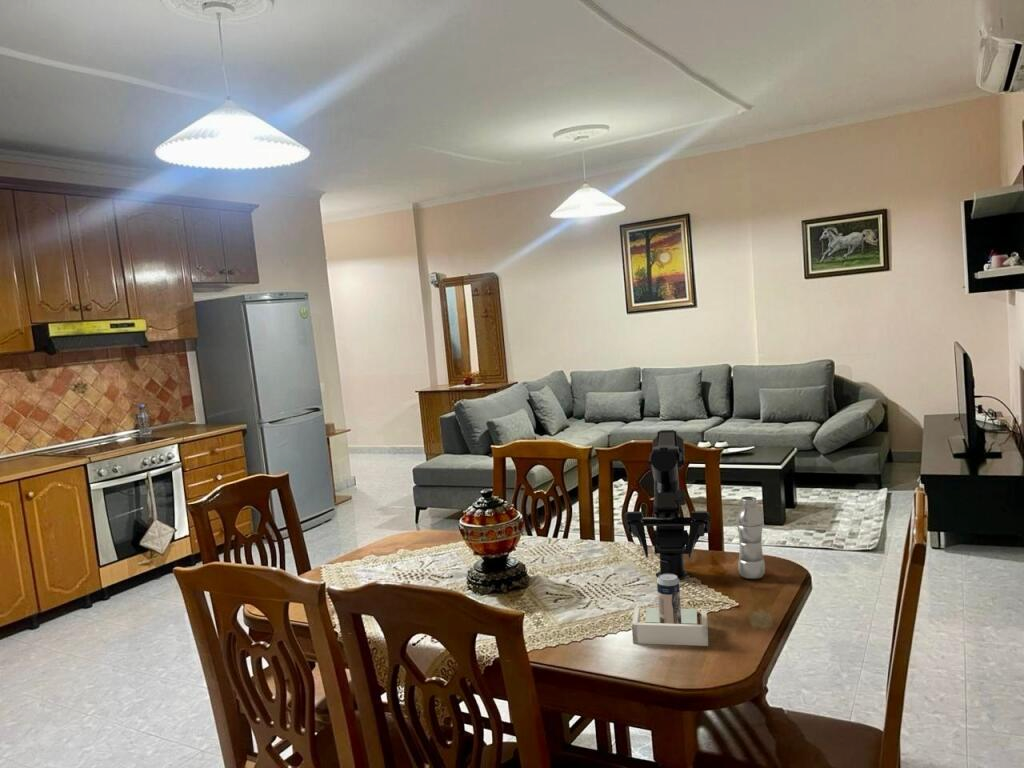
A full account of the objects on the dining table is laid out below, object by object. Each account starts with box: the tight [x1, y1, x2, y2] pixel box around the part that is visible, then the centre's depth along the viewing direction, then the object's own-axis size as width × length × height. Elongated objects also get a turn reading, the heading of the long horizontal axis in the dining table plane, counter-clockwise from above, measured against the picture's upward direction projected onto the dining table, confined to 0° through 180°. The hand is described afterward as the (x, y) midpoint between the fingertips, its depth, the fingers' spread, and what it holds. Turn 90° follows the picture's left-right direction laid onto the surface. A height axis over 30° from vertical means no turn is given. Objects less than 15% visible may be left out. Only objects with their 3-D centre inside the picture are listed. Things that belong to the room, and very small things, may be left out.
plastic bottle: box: [735, 495, 766, 580], centre depth 181 cm, size 6×7×20 cm
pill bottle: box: [656, 574, 682, 624], centre depth 154 cm, size 5×5×12 cm
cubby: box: [631, 606, 709, 647], centre depth 153 cm, size 9×15×4 cm, turn 77°
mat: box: [644, 607, 698, 624], centre depth 162 cm, size 8×11×1 cm
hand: (668, 556), depth 162 cm, fingers open, 9 cm apart
